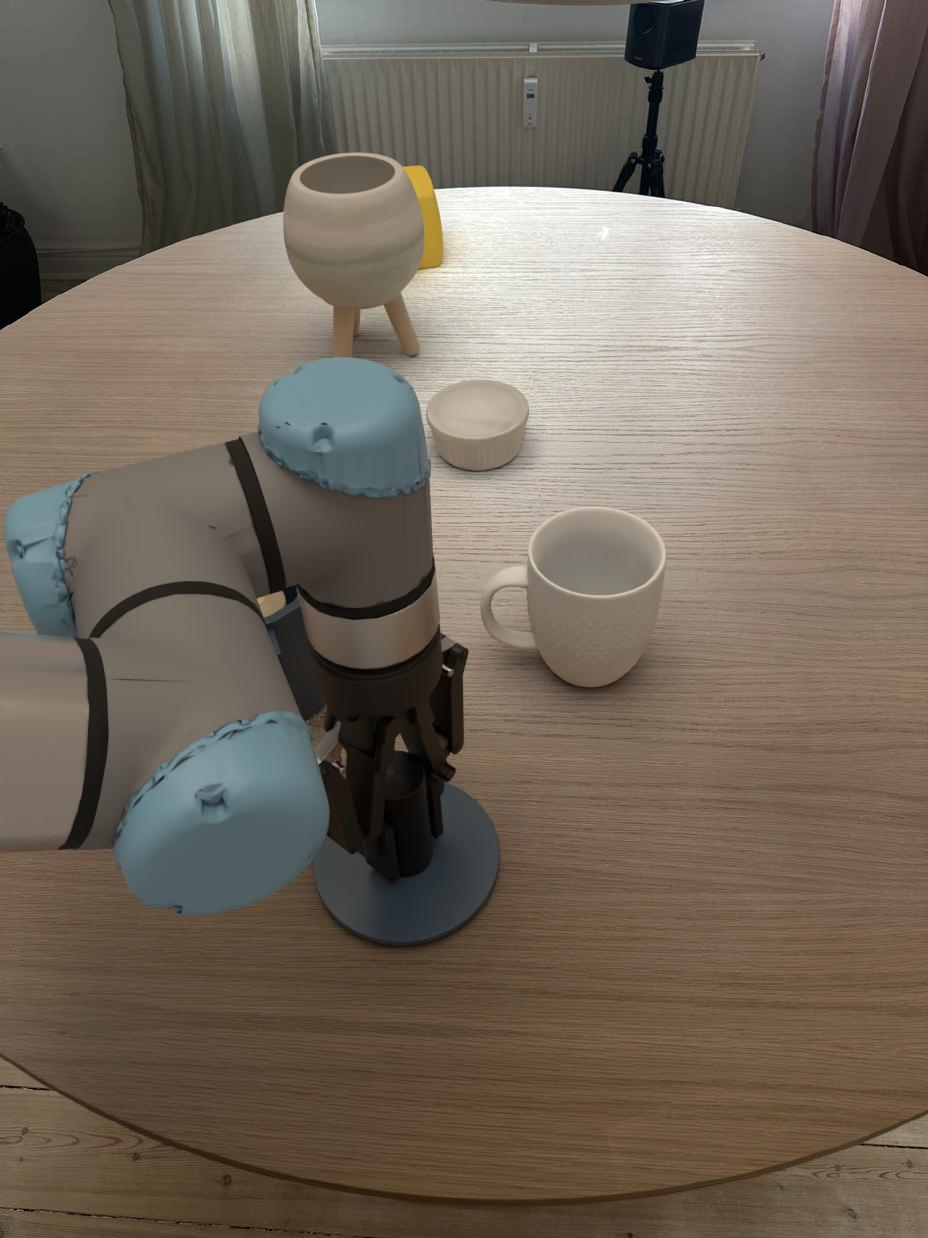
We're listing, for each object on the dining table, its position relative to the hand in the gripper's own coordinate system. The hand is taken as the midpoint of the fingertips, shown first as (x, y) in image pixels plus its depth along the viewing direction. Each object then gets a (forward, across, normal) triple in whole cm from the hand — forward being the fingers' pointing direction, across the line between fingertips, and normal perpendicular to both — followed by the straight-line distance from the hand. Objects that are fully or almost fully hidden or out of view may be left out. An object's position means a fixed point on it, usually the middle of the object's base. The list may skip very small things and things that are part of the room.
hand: (405, 846), depth 72 cm
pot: (+2, -6, -22) cm, 23 cm away
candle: (+2, -6, -22) cm, 23 cm away
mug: (+2, -24, -2) cm, 25 cm away
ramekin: (+2, -43, -29) cm, 52 cm away
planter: (+2, -50, -53) cm, 73 cm away
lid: (+2, 0, 0) cm, 2 cm away
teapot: (+2, -73, -69) cm, 100 cm away
